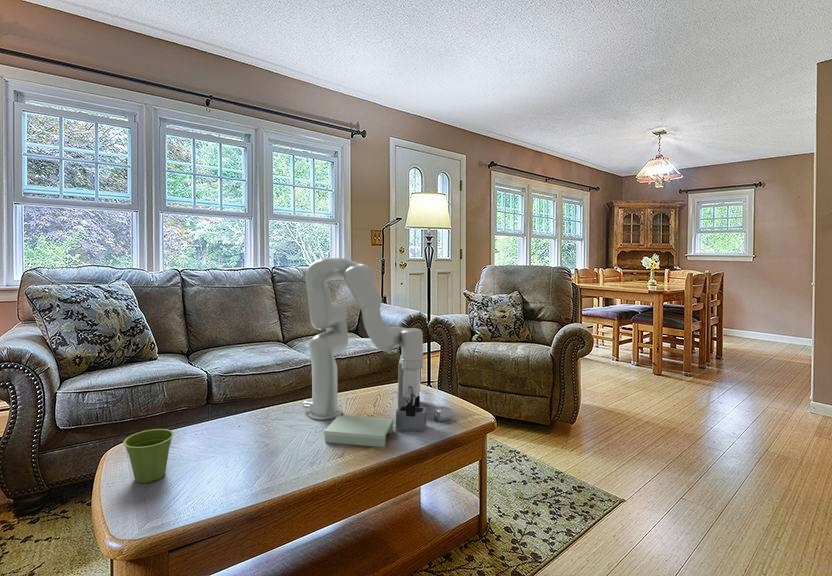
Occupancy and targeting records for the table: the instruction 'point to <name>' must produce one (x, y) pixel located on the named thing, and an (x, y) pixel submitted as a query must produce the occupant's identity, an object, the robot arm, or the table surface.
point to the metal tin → (442, 414)
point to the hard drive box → (401, 385)
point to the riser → (359, 430)
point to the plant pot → (149, 453)
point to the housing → (411, 420)
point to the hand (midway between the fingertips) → (413, 411)
